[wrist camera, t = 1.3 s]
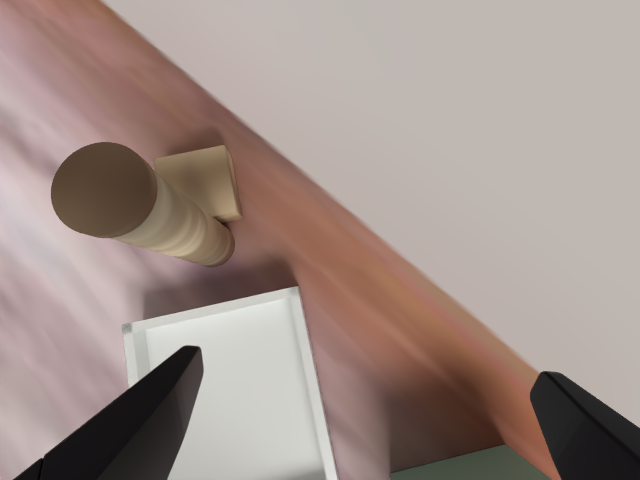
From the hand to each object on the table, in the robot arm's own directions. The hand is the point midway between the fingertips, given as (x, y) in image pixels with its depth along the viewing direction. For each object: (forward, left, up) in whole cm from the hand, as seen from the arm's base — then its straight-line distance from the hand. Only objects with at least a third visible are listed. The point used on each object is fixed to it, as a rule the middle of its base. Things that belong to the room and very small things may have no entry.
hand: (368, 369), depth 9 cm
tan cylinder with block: (-10, +8, -14) cm, 19 cm away
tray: (-6, -5, -14) cm, 17 cm away
